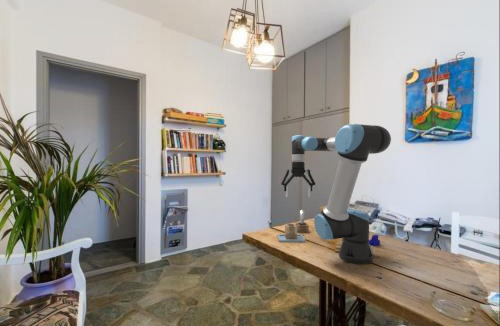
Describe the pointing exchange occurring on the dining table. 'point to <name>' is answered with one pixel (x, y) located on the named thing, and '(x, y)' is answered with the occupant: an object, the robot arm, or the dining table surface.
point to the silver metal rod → (301, 217)
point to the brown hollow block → (302, 228)
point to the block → (290, 231)
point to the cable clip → (374, 240)
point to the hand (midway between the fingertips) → (298, 196)
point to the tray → (282, 239)
